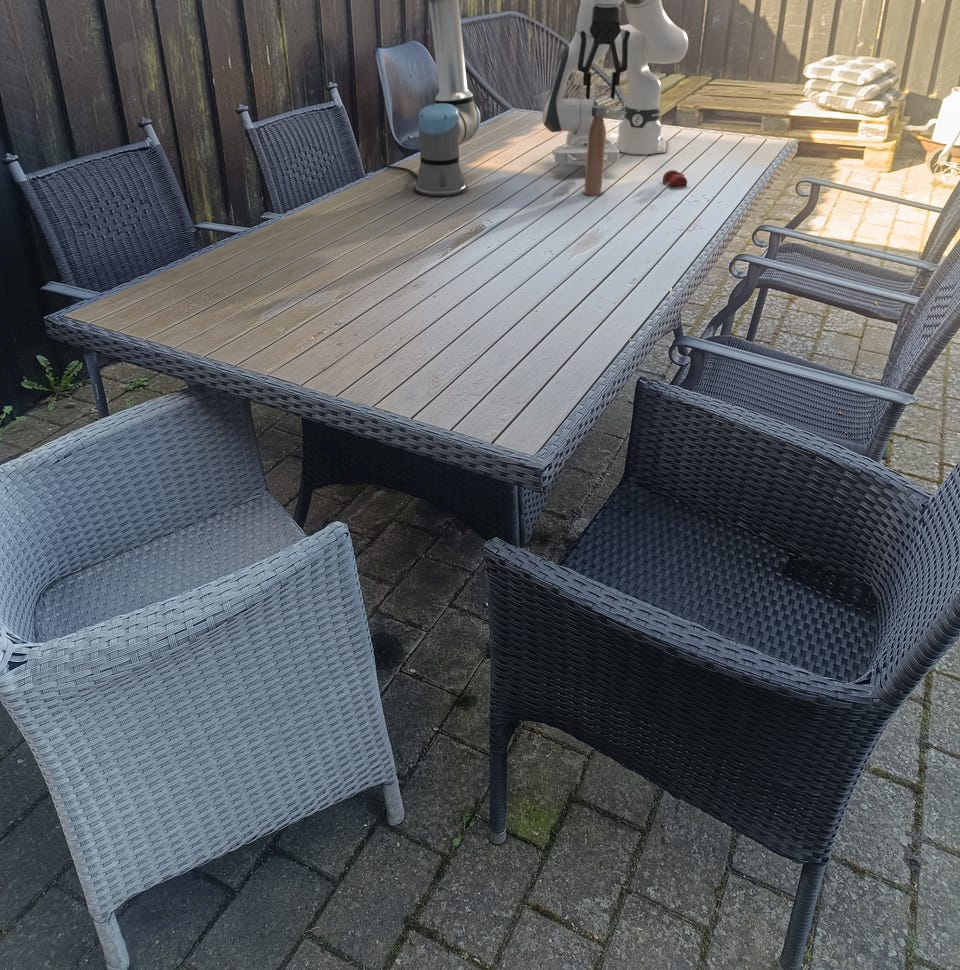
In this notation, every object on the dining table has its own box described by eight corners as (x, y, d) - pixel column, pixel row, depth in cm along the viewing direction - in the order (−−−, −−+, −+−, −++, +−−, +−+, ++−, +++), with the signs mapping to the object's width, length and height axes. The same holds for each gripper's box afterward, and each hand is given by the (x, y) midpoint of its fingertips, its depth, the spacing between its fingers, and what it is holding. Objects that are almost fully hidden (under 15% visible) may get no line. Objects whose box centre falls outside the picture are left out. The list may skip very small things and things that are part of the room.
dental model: (678, 166, 263) (689, 173, 257) (677, 180, 266) (688, 187, 260) (661, 168, 262) (672, 175, 256) (660, 182, 265) (671, 189, 259)
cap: (595, 117, 241) (596, 108, 239) (589, 114, 244) (589, 105, 242) (608, 116, 242) (608, 107, 240) (601, 113, 245) (602, 104, 244)
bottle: (588, 196, 253) (595, 110, 239) (581, 191, 257) (587, 106, 243) (604, 194, 254) (611, 109, 240) (596, 190, 258) (603, 105, 244)
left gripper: (572, 7, 224) (567, 100, 237) (645, 7, 224) (635, 100, 237) (569, 3, 230) (565, 95, 243) (640, 3, 230) (631, 95, 243)
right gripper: (551, 140, 270) (556, 151, 258) (615, 139, 270) (622, 150, 259) (550, 160, 273) (555, 172, 262) (613, 160, 274) (620, 171, 263)
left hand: (599, 97), depth 240 cm, fingers open, 6 cm apart
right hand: (589, 161), depth 260 cm, fingers open, 8 cm apart
